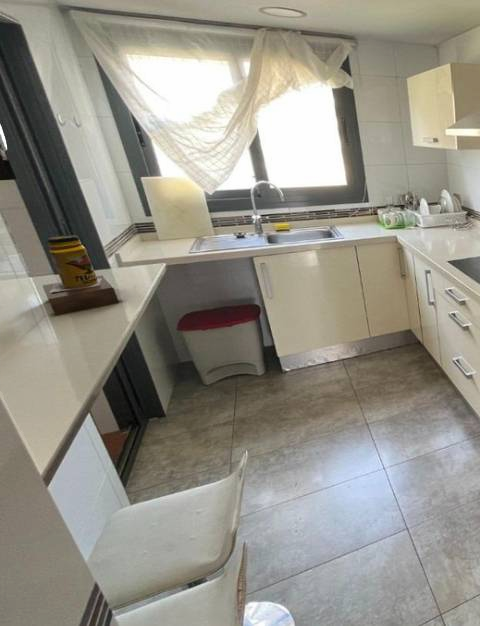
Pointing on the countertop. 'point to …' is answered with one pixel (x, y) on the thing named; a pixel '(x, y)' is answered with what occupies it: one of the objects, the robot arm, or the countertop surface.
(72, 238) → the condiment
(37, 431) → the countertop surface
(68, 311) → the brown wooden base
